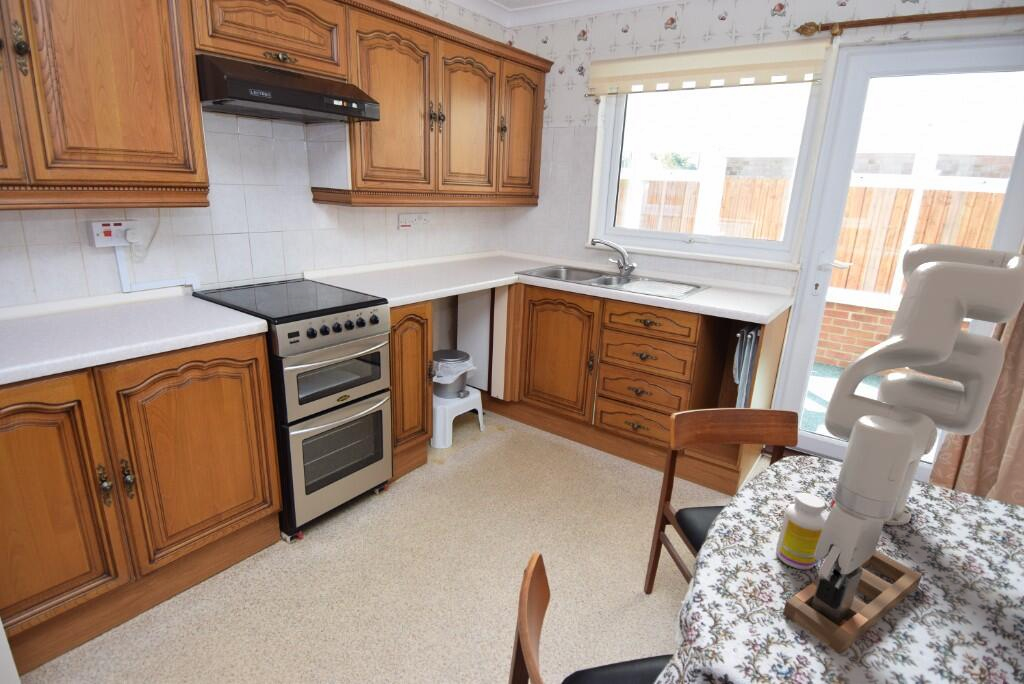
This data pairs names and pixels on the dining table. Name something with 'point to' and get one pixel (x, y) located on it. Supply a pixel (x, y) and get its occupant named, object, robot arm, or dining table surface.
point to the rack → (856, 603)
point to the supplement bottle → (801, 531)
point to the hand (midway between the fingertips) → (834, 596)
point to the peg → (846, 599)
